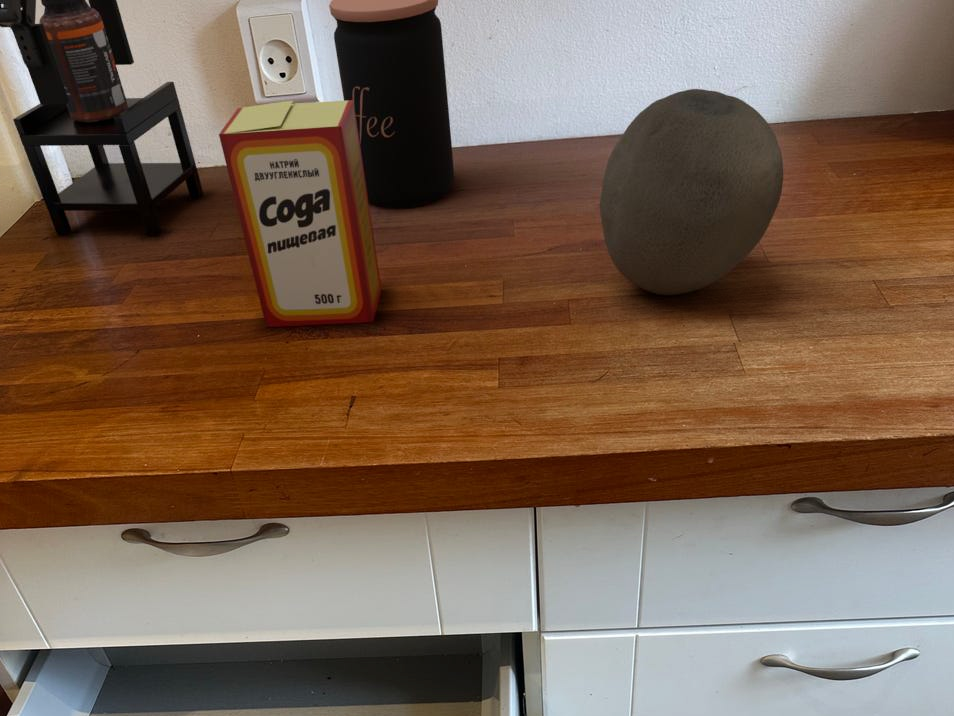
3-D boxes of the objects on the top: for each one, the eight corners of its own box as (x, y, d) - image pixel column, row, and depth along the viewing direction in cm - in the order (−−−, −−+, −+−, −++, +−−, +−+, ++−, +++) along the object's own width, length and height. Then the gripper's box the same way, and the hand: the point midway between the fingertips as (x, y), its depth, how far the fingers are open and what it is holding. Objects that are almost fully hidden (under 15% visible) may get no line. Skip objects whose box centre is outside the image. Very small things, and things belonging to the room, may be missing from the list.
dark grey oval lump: (668, 340, 76) (682, 138, 66) (568, 281, 85) (566, 95, 75) (799, 290, 81) (833, 94, 70) (691, 239, 90) (706, 59, 79)
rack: (57, 235, 102) (12, 119, 94) (110, 193, 111) (73, 83, 103) (157, 236, 100) (120, 117, 92) (204, 194, 108) (173, 81, 100)
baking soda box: (381, 288, 87) (352, 94, 76) (372, 321, 82) (340, 120, 71) (280, 294, 88) (236, 103, 76) (266, 327, 83) (217, 128, 72)
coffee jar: (344, 188, 106) (313, -2, 93) (430, 166, 109) (411, -21, 96) (381, 218, 99) (352, 17, 86) (472, 193, 102) (457, -4, 89)
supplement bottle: (141, 112, 98) (102, -19, 90) (90, 128, 95) (45, -5, 87) (111, 103, 101) (71, -24, 93) (61, 119, 98) (15, -11, 90)
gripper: (-48, -184, 72) (59, 121, 87) (109, -210, 89) (176, 48, 104) (-132, -176, 73) (-12, 122, 88) (39, -204, 91) (114, 50, 105)
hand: (89, 83), depth 96 cm, fingers open, 13 cm apart
